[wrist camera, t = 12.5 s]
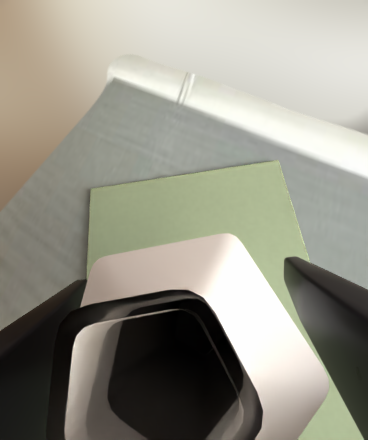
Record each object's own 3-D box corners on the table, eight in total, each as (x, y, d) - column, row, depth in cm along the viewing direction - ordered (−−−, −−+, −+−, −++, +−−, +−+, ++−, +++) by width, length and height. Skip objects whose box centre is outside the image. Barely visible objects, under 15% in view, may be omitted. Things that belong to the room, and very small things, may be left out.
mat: (393, 539, 11) (399, 547, 11) (76, 556, 12) (72, 563, 12) (277, 162, 20) (278, 159, 19) (92, 190, 21) (90, 188, 20)
